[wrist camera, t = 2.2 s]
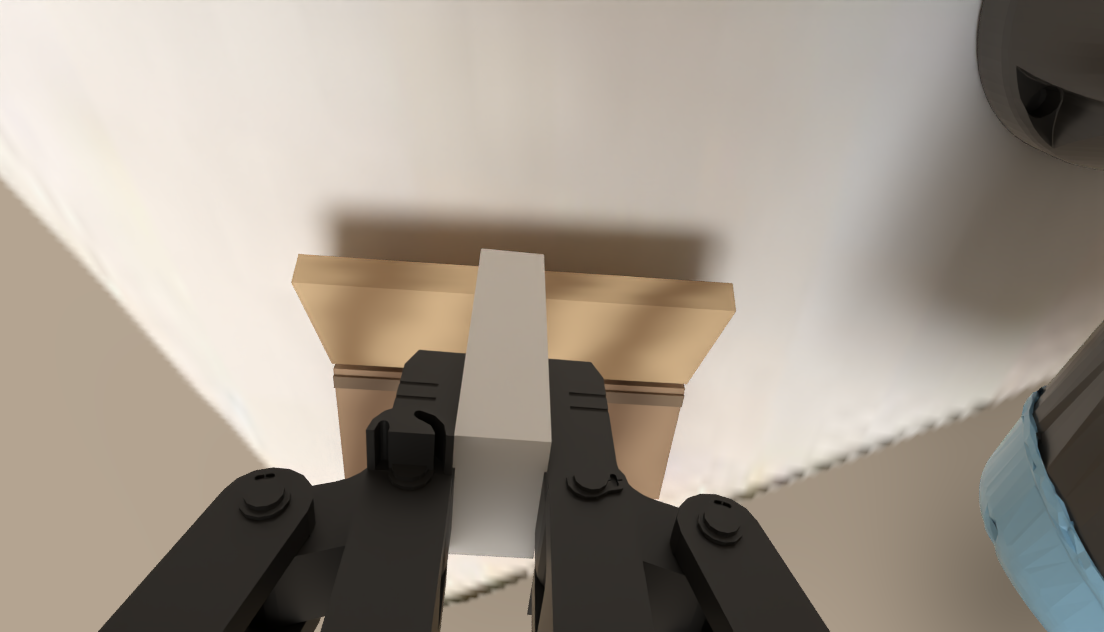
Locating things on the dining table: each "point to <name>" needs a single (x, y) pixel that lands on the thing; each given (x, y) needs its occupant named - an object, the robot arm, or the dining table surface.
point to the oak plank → (571, 309)
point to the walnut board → (633, 408)
